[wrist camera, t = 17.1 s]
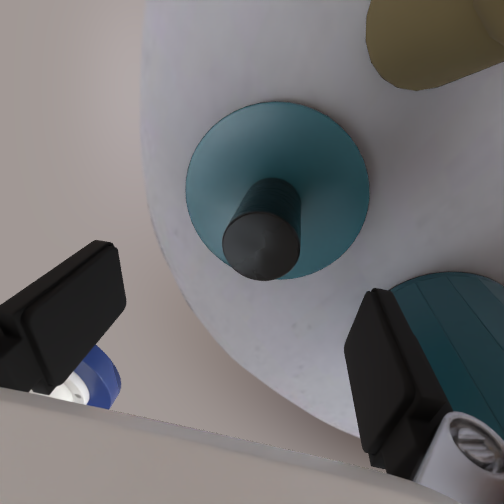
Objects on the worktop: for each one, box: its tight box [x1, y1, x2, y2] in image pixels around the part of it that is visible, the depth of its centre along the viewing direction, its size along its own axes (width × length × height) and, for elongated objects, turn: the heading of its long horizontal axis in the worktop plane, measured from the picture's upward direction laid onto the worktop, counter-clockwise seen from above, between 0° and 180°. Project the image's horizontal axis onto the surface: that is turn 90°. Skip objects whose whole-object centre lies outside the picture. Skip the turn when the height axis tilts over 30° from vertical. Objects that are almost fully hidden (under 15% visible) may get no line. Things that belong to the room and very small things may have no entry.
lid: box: [186, 101, 370, 281], centre depth 15 cm, size 11×11×7 cm
